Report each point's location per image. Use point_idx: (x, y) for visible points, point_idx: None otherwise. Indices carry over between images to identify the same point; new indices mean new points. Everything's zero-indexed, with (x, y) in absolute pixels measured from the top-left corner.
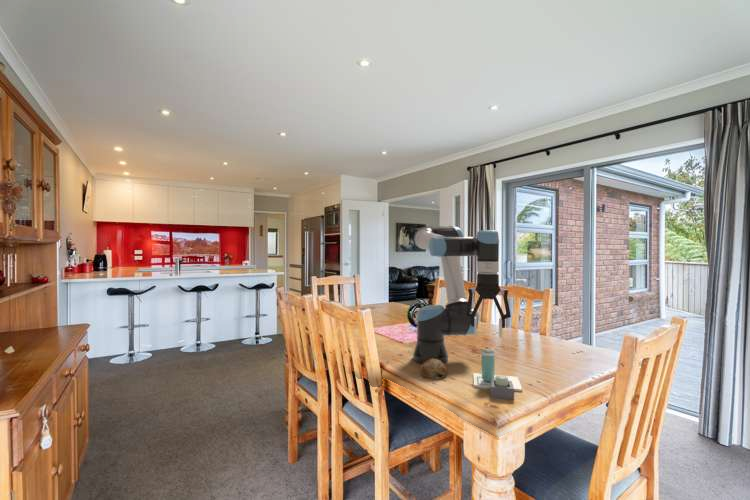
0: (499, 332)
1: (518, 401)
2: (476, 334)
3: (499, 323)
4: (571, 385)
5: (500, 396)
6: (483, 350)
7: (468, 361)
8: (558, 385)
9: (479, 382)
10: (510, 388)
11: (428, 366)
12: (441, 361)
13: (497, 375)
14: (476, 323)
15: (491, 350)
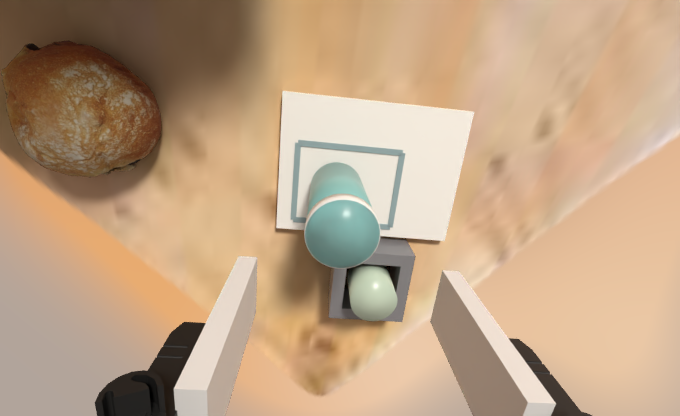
0: (447, 329)
1: None
2: (252, 321)
3: (481, 401)
4: (650, 149)
5: None
6: (318, 218)
7: None
8: (600, 157)
9: (300, 201)
10: (390, 319)
11: (48, 167)
12: (97, 121)
13: (389, 107)
14: (227, 407)
15: (368, 211)
